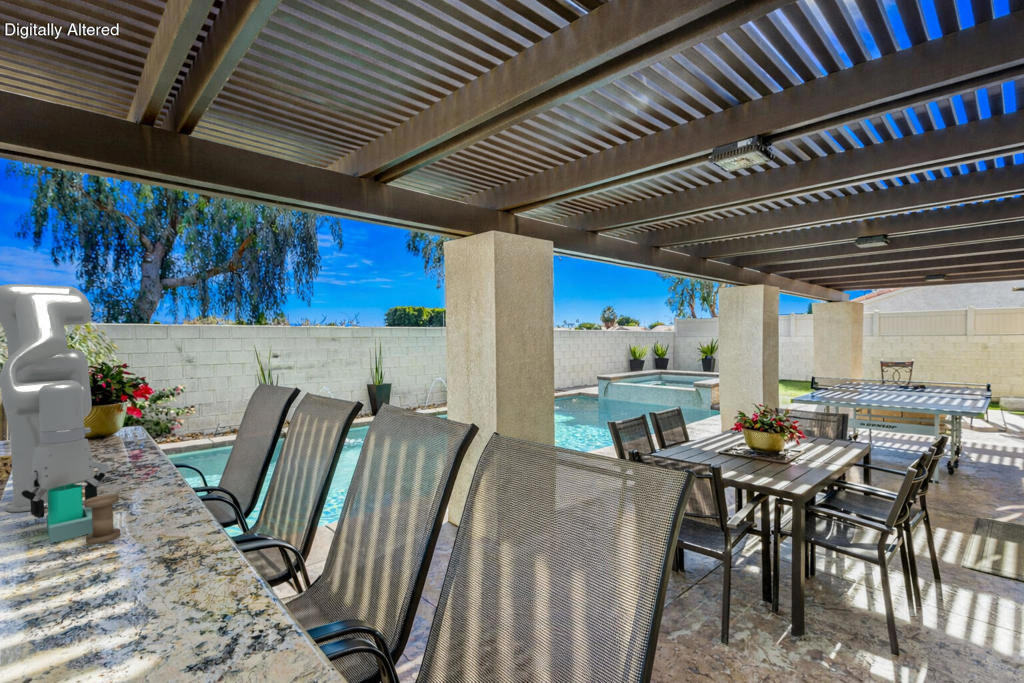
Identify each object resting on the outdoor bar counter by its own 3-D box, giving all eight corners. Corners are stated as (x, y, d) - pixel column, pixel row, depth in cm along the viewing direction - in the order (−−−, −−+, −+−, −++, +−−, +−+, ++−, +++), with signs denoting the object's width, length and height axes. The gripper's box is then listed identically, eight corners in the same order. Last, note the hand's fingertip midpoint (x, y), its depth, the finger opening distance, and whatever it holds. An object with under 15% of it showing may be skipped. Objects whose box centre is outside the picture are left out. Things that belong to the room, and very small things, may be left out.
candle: (62, 538, 110) (60, 485, 110) (41, 536, 111) (39, 484, 111) (90, 527, 116) (88, 477, 116) (70, 526, 117) (68, 476, 117)
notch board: (46, 529, 116) (46, 514, 115) (96, 518, 122) (95, 504, 122) (50, 543, 107) (49, 528, 107) (103, 531, 114) (102, 516, 114)
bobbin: (79, 541, 108) (78, 501, 108) (111, 531, 114) (109, 492, 113) (95, 545, 106) (93, 504, 106) (126, 535, 111) (124, 495, 111)
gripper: (97, 428, 123) (100, 495, 123) (4, 443, 107) (7, 520, 107) (114, 430, 120) (117, 499, 120) (21, 446, 104) (24, 525, 104)
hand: (65, 509), depth 114 cm, fingers open, 9 cm apart
